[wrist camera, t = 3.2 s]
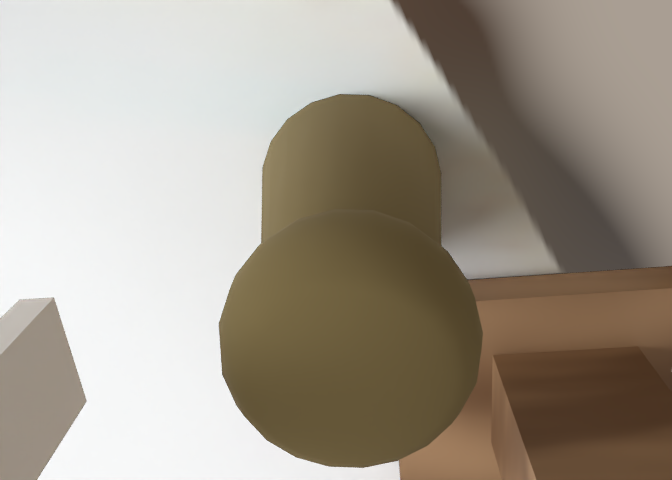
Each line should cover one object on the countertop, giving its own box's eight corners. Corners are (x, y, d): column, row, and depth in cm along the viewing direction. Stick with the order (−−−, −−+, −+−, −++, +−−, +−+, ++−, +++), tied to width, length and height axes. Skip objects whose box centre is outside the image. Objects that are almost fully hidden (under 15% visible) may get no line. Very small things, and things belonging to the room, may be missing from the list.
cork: (398, 60, 19) (448, 176, 9) (467, 223, 21) (568, 459, 11) (229, 142, 20) (109, 322, 10) (311, 287, 22) (278, 552, 12)
